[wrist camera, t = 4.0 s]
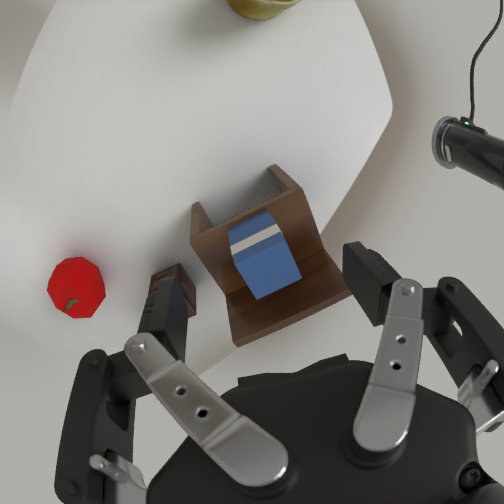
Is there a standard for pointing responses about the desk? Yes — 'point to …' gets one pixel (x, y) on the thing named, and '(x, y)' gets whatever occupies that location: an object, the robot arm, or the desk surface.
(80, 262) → the apple
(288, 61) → the desk surface
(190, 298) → the box
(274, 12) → the mug
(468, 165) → the robot arm
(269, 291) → the carton
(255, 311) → the chair
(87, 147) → the desk surface
